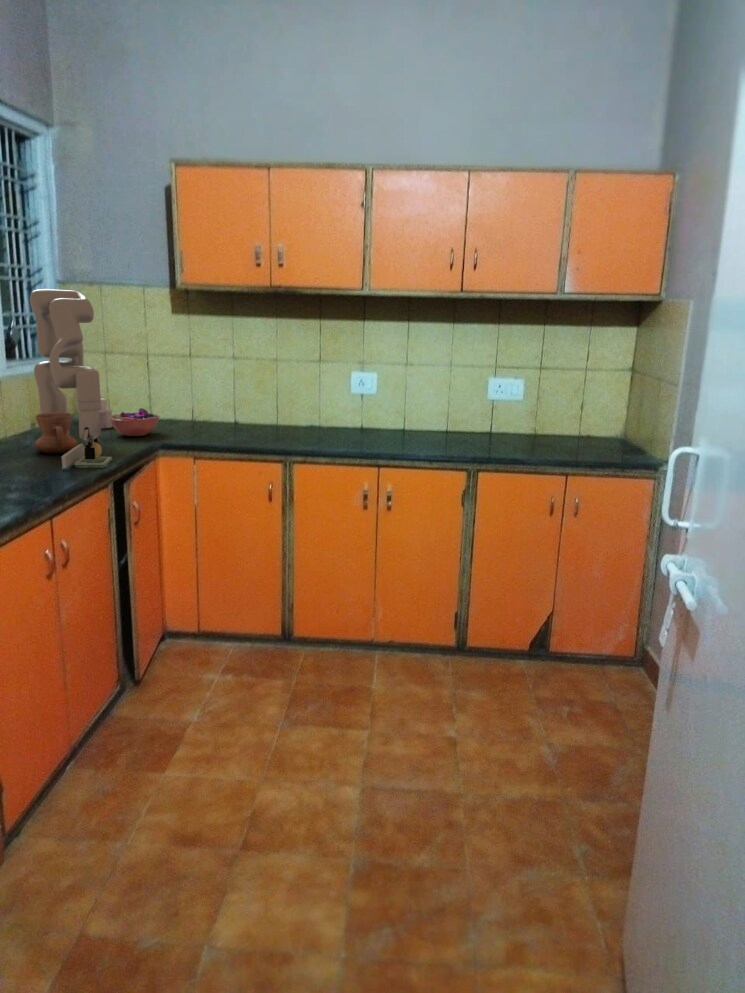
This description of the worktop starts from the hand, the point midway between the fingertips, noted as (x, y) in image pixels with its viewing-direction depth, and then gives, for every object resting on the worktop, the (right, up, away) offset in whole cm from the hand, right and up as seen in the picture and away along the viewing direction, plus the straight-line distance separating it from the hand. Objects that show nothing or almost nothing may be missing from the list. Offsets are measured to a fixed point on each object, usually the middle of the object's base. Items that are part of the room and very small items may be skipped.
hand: (93, 456), depth 239 cm
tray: (0, -3, +1) cm, 3 cm away
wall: (-7, -3, +1) cm, 8 cm away
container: (-23, +17, +65) cm, 71 cm away
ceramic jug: (-20, +2, +16) cm, 26 cm away
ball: (0, +2, -1) cm, 2 cm away
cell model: (-3, +12, +51) cm, 52 cm away
